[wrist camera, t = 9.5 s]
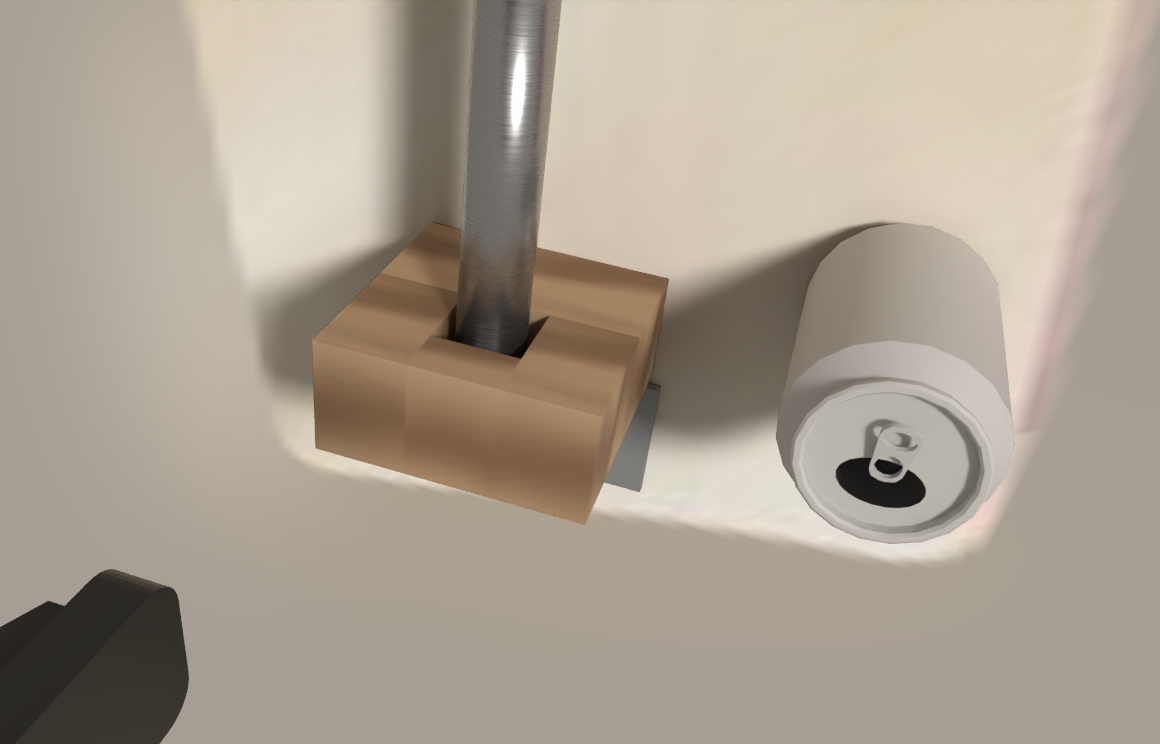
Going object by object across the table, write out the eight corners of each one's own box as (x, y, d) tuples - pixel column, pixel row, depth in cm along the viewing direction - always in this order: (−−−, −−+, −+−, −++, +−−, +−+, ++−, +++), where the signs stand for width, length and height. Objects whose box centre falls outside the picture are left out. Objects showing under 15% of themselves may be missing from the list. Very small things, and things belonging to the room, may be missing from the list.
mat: (417, 324, 50) (414, 328, 50) (660, 386, 48) (658, 391, 48) (414, 424, 54) (411, 429, 53) (641, 487, 52) (639, 492, 51)
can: (786, 350, 46) (744, 523, 36) (836, 192, 41) (804, 338, 32) (960, 400, 44) (966, 592, 35) (1029, 242, 40) (1058, 410, 30)
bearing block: (431, 222, 47) (312, 339, 38) (669, 279, 45) (601, 416, 36) (427, 317, 50) (315, 448, 41) (651, 375, 48) (584, 524, 39)
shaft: (486, -155, 34) (431, -141, 30) (617, -133, 33) (577, -115, 30) (455, 363, 45) (413, 419, 41) (554, 389, 44) (519, 448, 40)
